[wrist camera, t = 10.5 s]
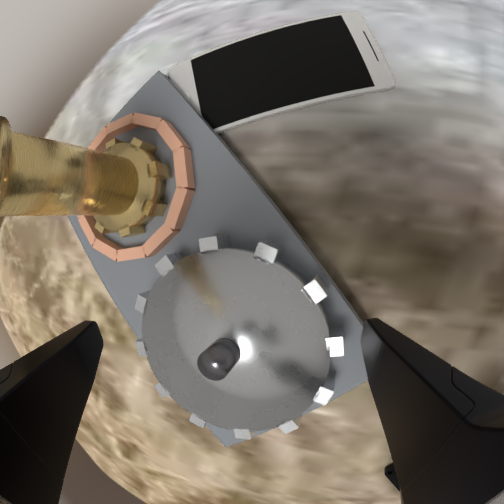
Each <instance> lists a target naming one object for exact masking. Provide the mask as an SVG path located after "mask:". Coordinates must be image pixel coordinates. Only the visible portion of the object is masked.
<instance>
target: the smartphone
mask: <svg viewBox="0 0 504 504" xmlns="http://www.w3.org/2000/svg"><path fill="white" fill-rule="evenodd" d="M169 78H170V81H171V82H172V83H173V84H174V85H175V87H176V88H177V89H178V90H179V91H180V92H181V93H182V95H183V96H184V97H185V98H186V99H187V100H188V101H189V102H190V103H191V105H192V106H193V107H194V108H195V109H196V110H197V111H198V113H199V114H200V115H201V116H202V117H203V118H204V119H205V121H206V122H207V123H208V124H209V125H210V126H211V128H212V129H213V130H214V131H215V132H216V133H217V134H219V133H221V132H224V131H227V130H230V129H233V128H236V127H239V126H242V125H245V124H249V123H252V122H255V121H258V120H261V119H265V118H268V117H272V116H275V115H279V114H282V113H286V112H289V111H293V110H297V109H301V108H305V107H309V106H313V105H317V104H321V103H325V102H330V101H334V100H339V99H344V98H348V97H353V96H358V95H364V94H369V93H375V92H381V91H387V90H391V89H393V88H394V87H395V84H396V82H395V80H394V78H393V75H392V73H391V71H390V69H389V66H388V64H387V62H386V60H385V58H384V56H383V54H382V52H381V50H380V48H379V46H378V44H377V42H376V40H375V38H374V36H373V34H372V32H371V30H370V29H369V27H368V25H367V23H366V21H365V20H364V18H363V16H362V14H361V13H360V12H357V11H350V12H344V13H338V14H332V15H326V16H321V17H316V18H312V19H307V20H303V21H299V22H294V23H290V24H287V25H283V26H279V27H275V28H272V29H269V30H265V31H262V32H259V33H255V34H252V35H249V36H246V37H243V38H240V39H237V40H235V41H232V42H229V43H226V44H224V45H221V46H218V47H216V48H213V49H211V50H208V51H206V52H203V53H201V54H199V55H196V56H194V57H192V58H189V59H187V60H185V61H183V62H181V63H178V64H176V65H174V66H173V67H171V68H170V69H169Z"/></svg>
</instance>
